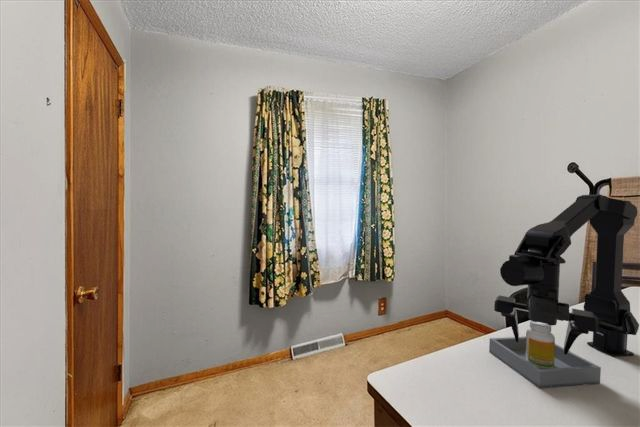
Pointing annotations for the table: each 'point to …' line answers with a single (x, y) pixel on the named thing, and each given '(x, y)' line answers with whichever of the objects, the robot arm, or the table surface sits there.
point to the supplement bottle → (540, 345)
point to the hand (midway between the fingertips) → (540, 347)
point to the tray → (563, 374)
